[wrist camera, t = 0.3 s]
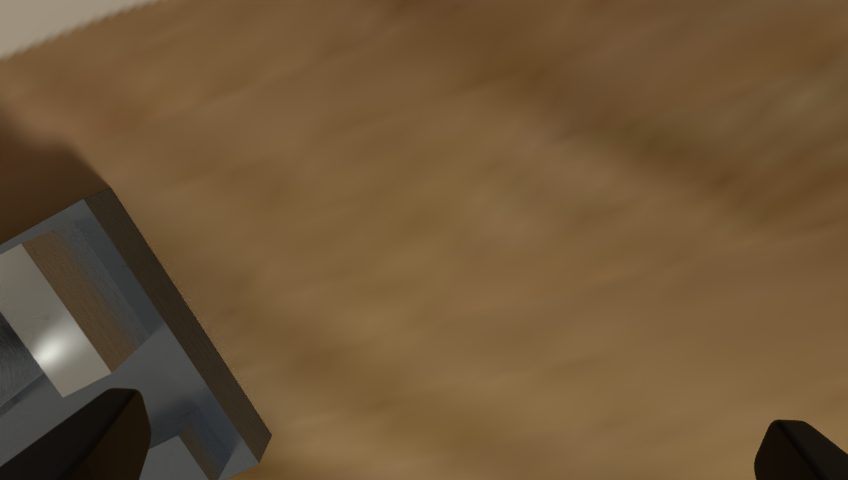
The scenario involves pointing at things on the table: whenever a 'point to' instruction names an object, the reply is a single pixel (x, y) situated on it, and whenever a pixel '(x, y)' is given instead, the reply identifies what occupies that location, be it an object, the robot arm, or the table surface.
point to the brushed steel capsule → (14, 363)
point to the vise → (119, 345)
